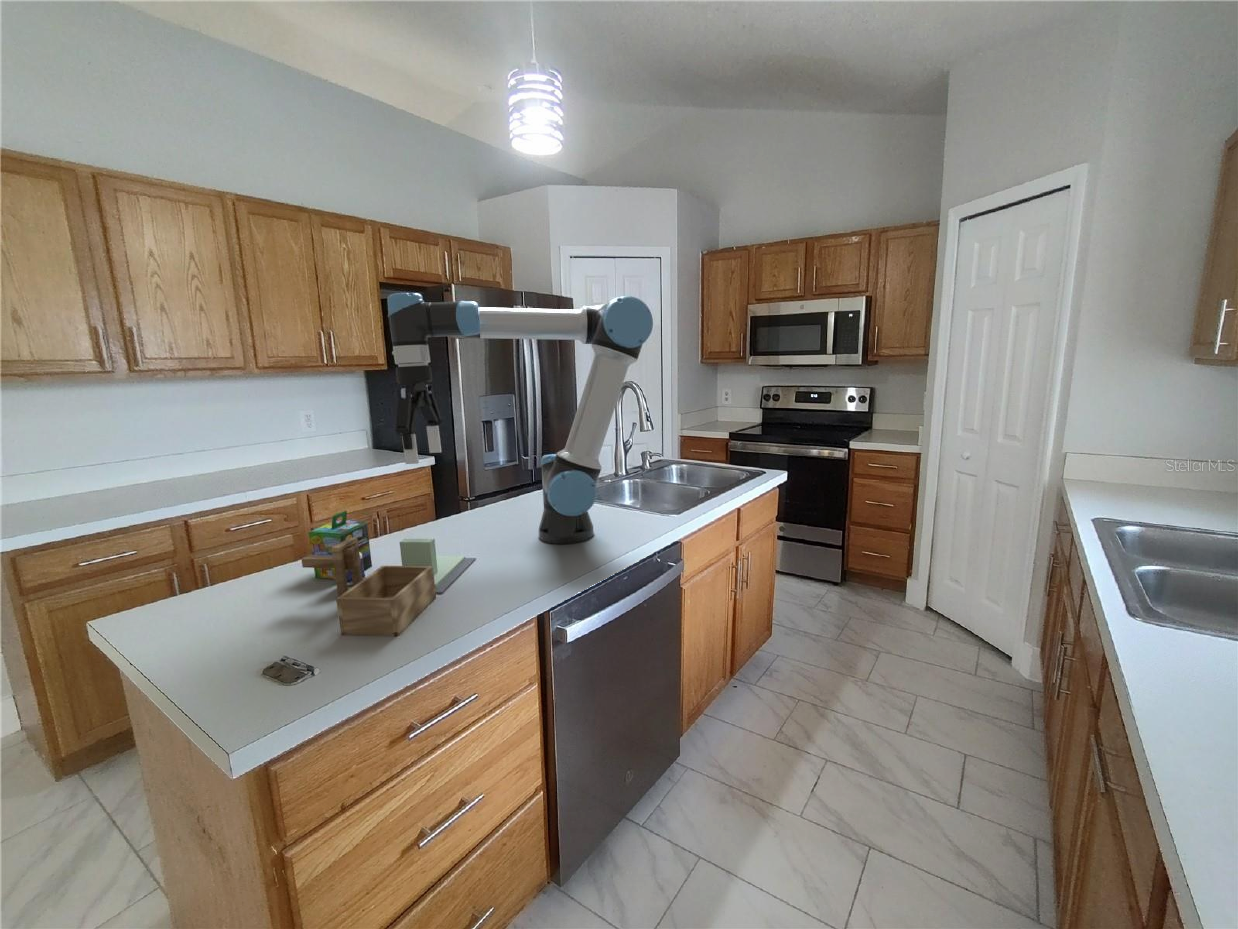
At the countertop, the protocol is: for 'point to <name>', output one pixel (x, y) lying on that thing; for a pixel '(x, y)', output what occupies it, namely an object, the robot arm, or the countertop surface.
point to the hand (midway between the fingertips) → (424, 457)
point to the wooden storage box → (380, 596)
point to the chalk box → (339, 541)
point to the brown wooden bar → (326, 561)
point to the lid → (429, 558)
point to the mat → (454, 575)
